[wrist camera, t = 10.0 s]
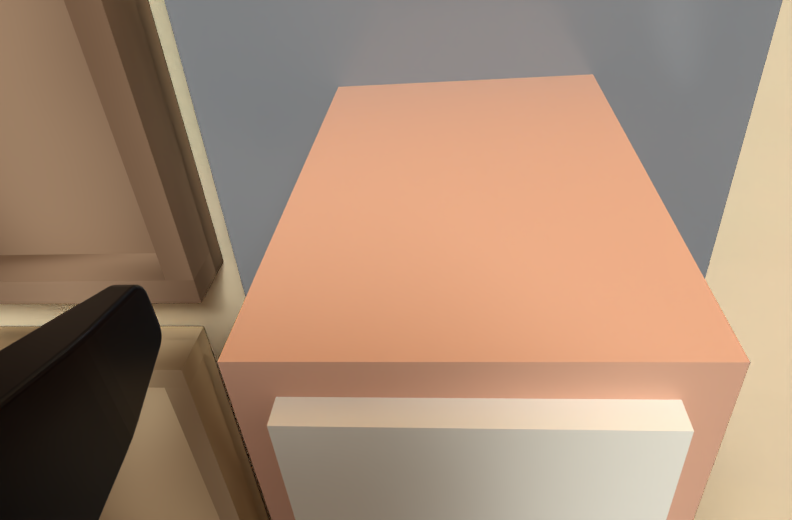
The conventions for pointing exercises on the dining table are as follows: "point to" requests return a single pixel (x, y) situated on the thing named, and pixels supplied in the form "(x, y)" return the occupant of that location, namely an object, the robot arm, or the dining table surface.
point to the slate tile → (470, 60)
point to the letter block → (479, 318)
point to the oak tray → (181, 441)
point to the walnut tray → (95, 159)
